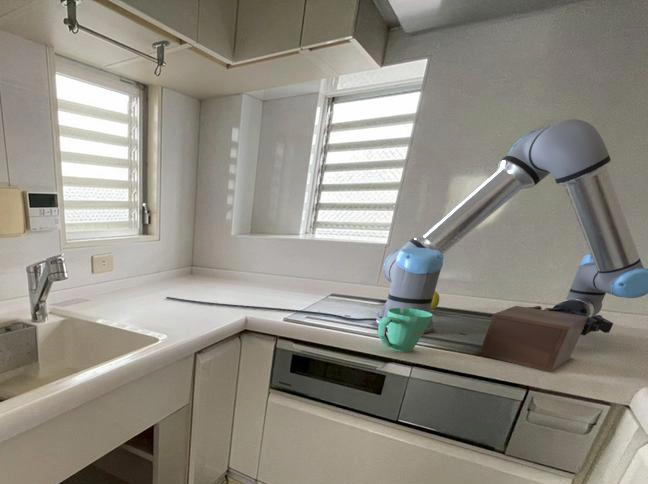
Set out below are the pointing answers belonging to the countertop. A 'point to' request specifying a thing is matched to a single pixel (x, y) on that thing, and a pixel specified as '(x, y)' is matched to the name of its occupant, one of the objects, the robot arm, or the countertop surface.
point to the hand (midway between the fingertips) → (548, 323)
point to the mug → (403, 328)
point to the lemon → (435, 300)
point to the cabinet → (532, 337)
